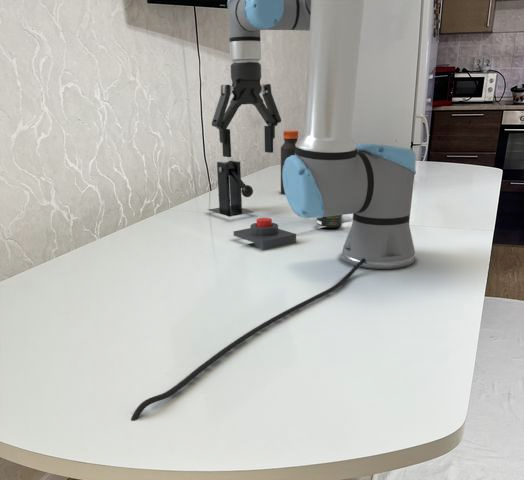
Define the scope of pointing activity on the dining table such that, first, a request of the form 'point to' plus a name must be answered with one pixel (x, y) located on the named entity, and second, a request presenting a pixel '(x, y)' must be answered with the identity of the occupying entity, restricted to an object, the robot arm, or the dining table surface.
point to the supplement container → (330, 222)
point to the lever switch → (229, 191)
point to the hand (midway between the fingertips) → (248, 154)
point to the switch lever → (240, 181)
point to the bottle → (287, 150)
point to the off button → (264, 222)
